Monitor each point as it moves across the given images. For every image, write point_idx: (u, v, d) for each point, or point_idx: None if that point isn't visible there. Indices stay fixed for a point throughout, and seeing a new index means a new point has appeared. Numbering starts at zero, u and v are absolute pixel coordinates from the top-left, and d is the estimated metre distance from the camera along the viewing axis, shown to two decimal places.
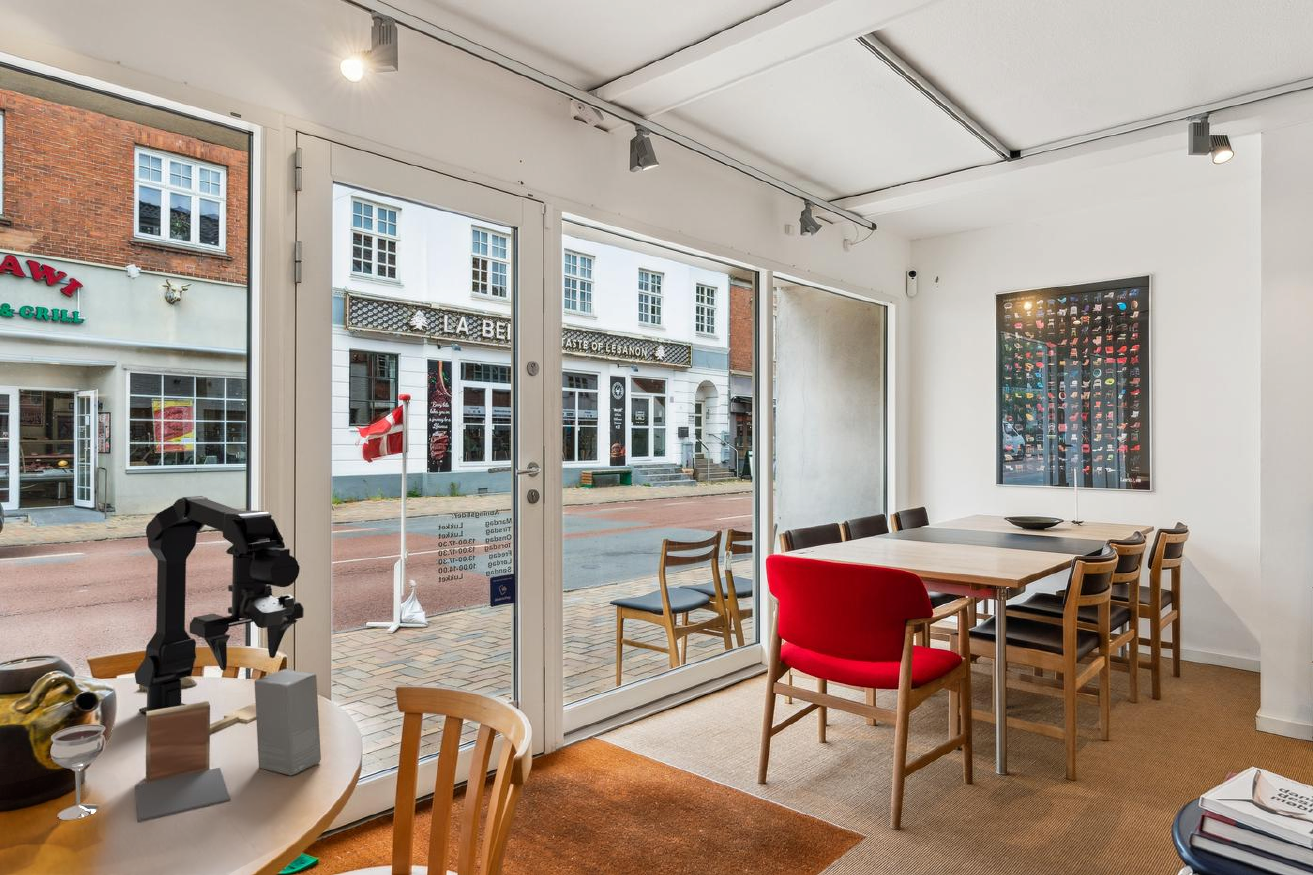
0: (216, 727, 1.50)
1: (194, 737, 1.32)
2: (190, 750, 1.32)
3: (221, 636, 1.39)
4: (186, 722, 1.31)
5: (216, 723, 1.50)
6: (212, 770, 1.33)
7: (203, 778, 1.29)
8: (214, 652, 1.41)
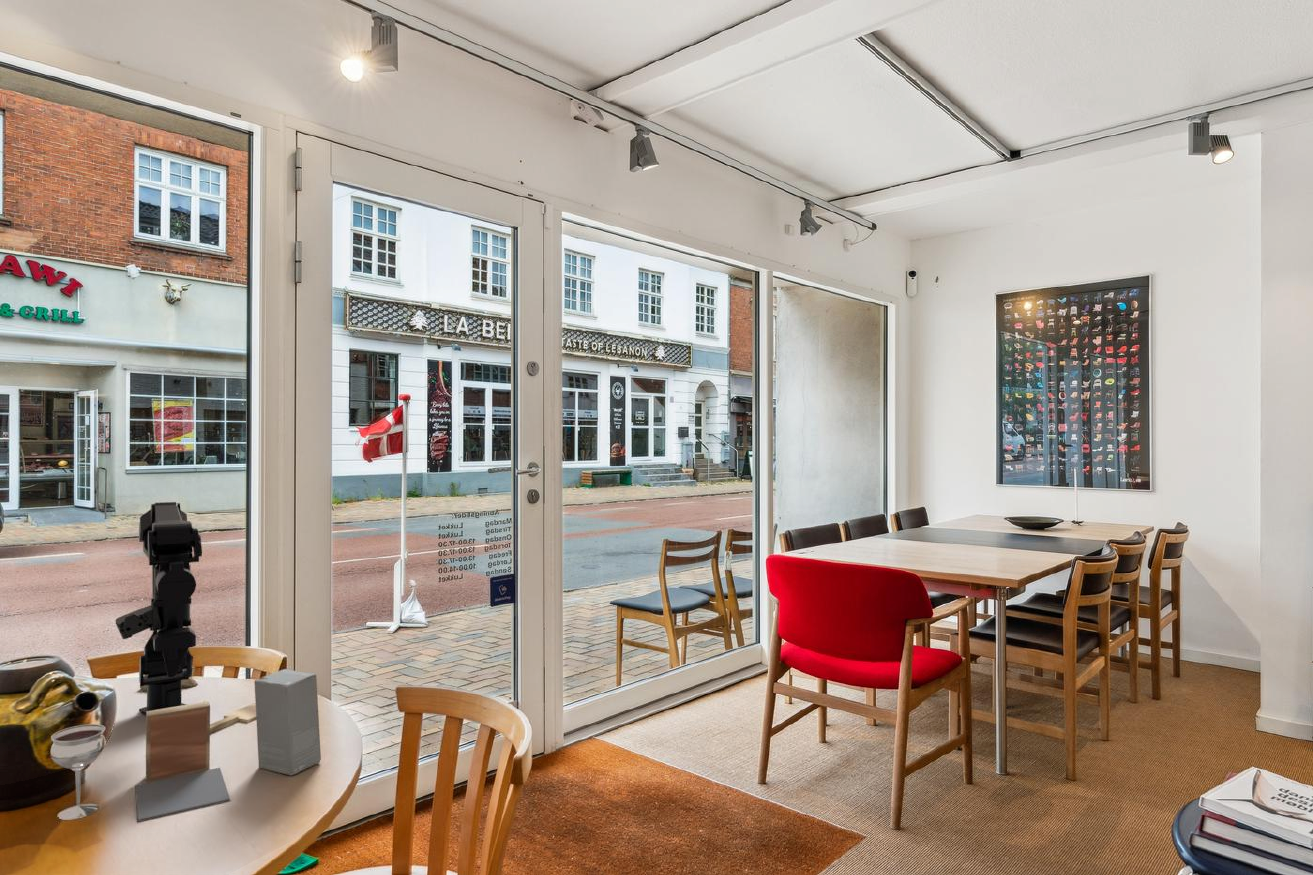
0: (216, 727, 1.50)
1: (194, 737, 1.32)
2: (190, 750, 1.32)
3: None
4: (186, 722, 1.31)
5: (216, 723, 1.50)
6: (212, 770, 1.33)
7: (203, 778, 1.29)
8: None
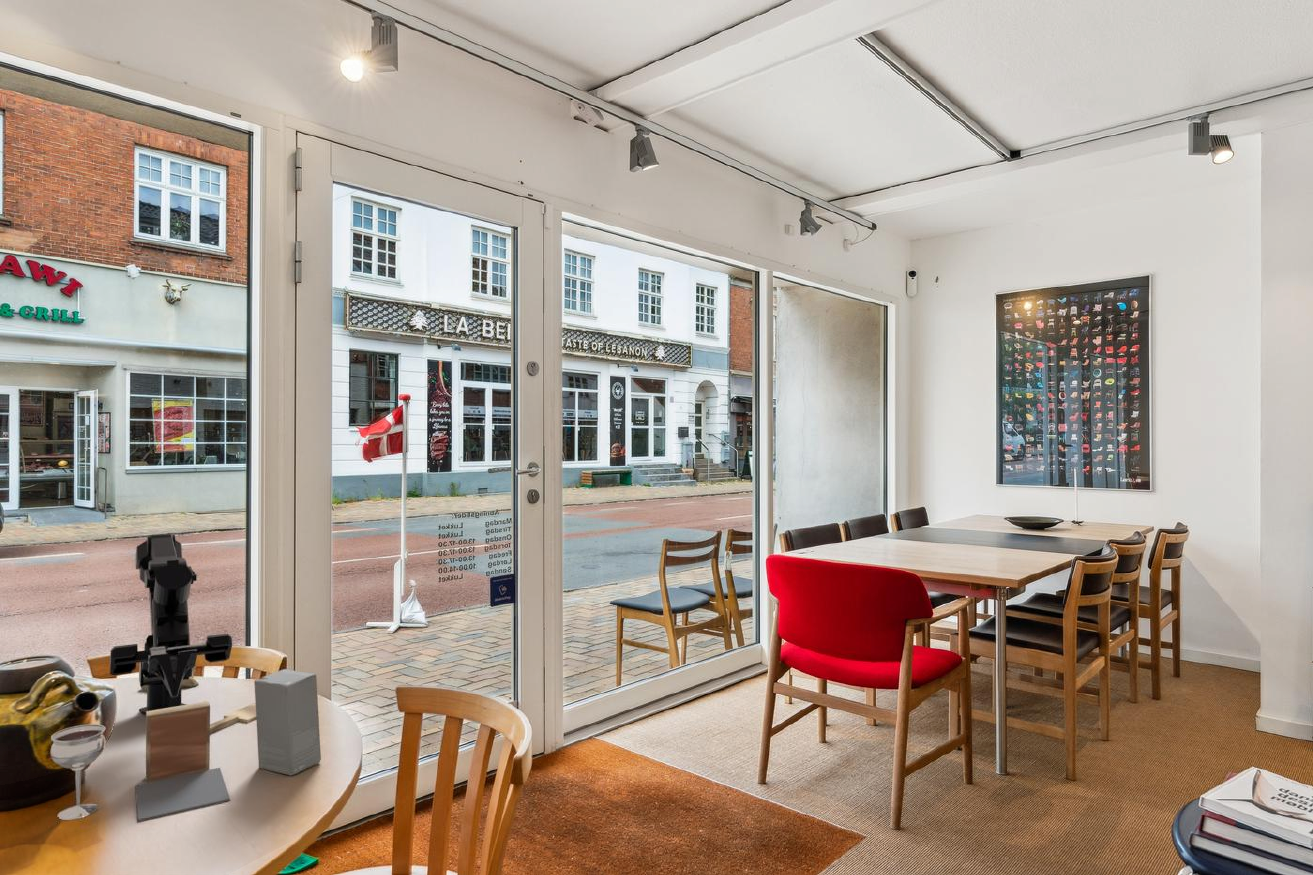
0: (216, 727, 1.50)
1: (194, 737, 1.32)
2: (190, 750, 1.32)
3: None
4: (186, 722, 1.31)
5: (216, 723, 1.50)
6: (212, 770, 1.33)
7: (203, 778, 1.29)
8: (182, 675, 1.41)
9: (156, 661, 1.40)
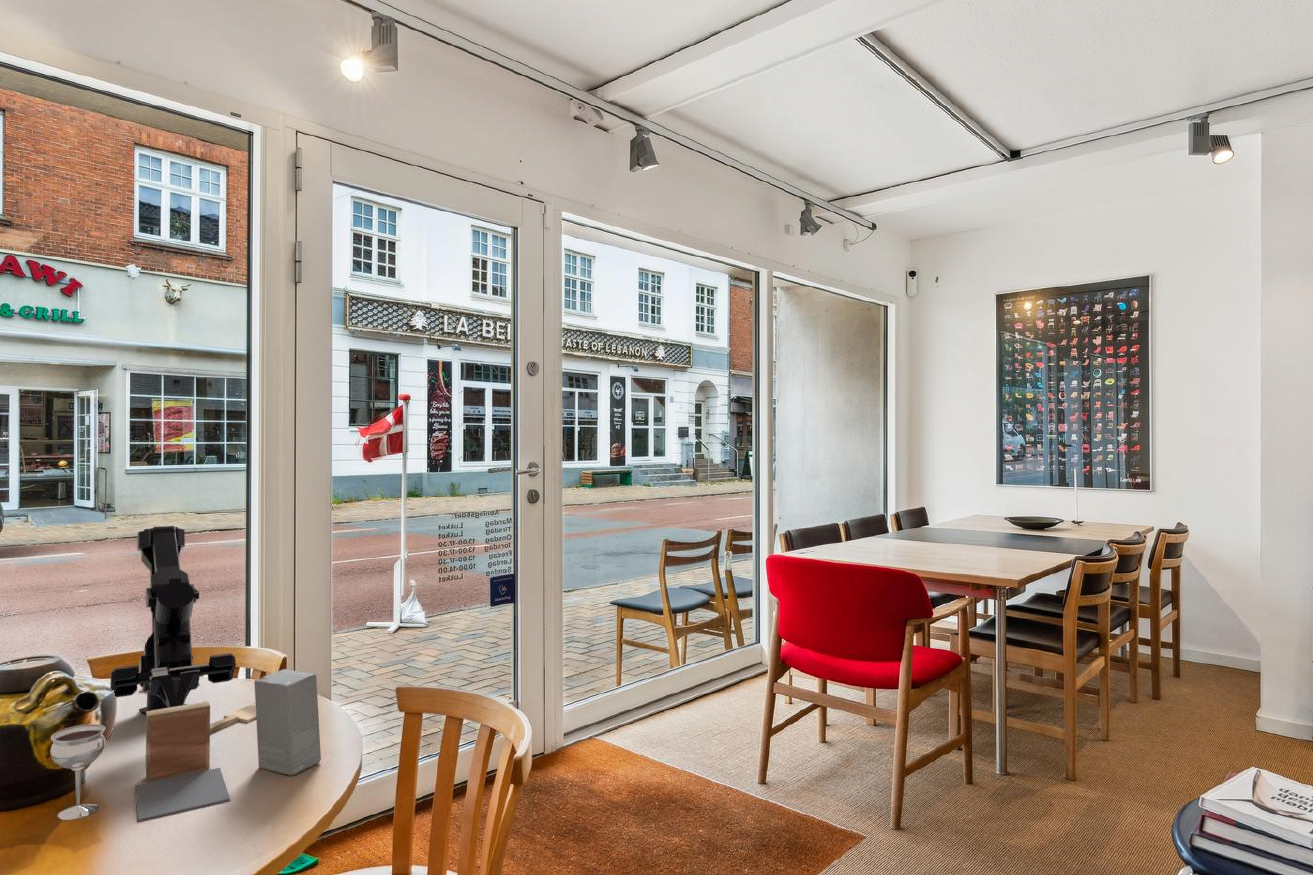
0: (216, 727, 1.50)
1: (194, 737, 1.32)
2: (190, 750, 1.32)
3: None
4: (186, 722, 1.31)
5: (216, 723, 1.50)
6: (212, 770, 1.33)
7: (203, 778, 1.29)
8: (185, 697, 1.37)
9: (158, 683, 1.36)
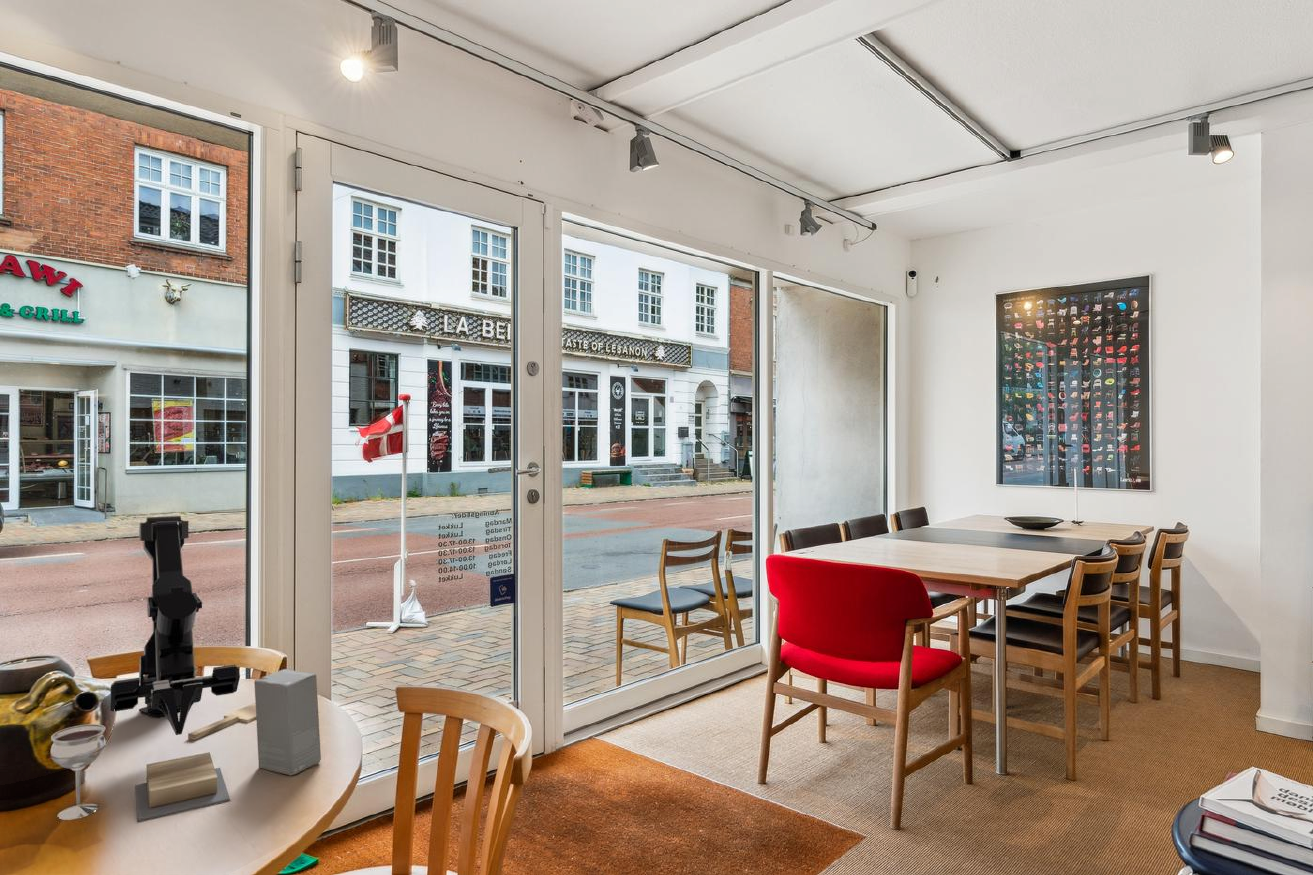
0: (216, 727, 1.50)
1: None
2: None
3: None
4: None
5: (216, 723, 1.50)
6: None
7: None
8: (187, 711, 1.32)
9: (159, 696, 1.31)
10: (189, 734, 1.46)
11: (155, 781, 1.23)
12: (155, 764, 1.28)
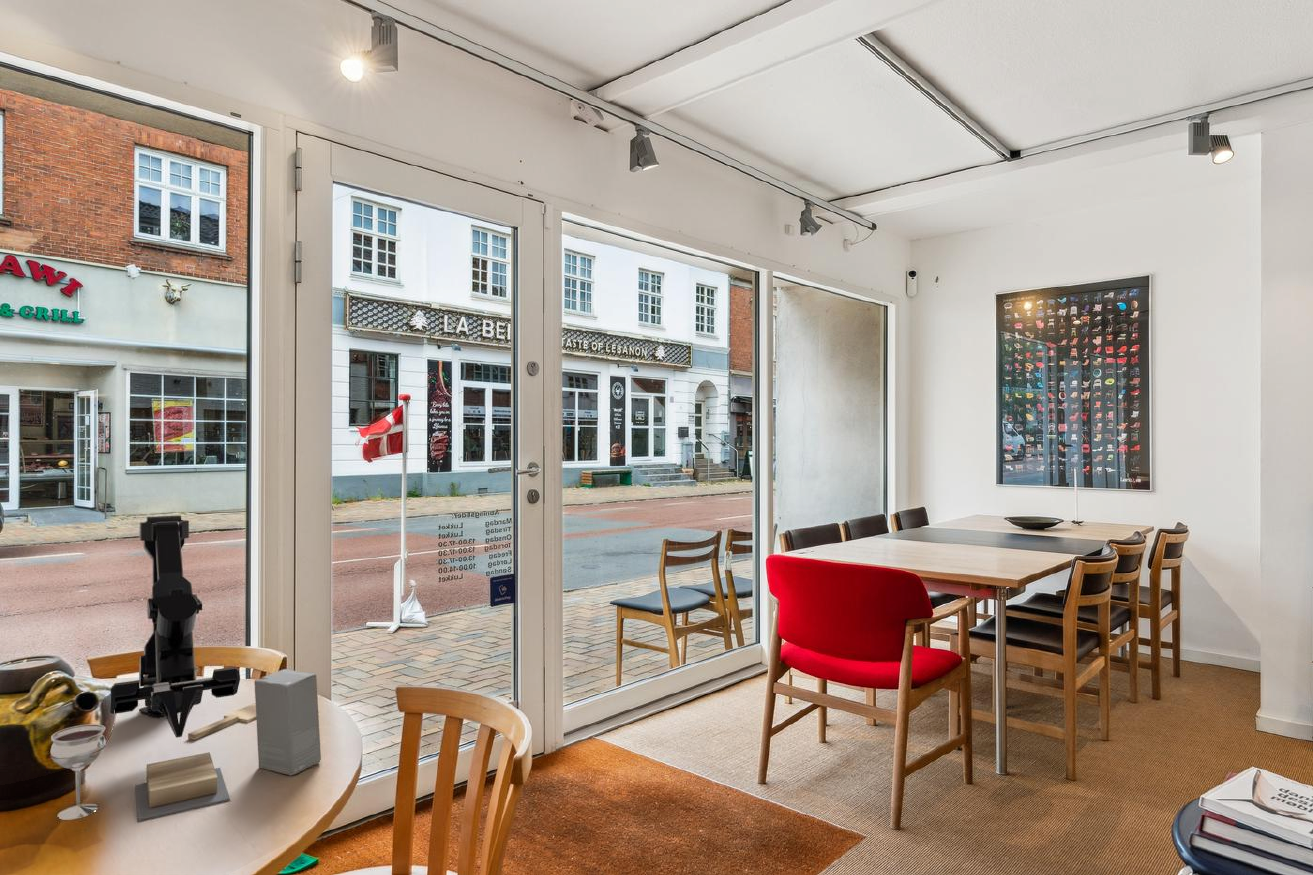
0: (216, 727, 1.50)
1: None
2: None
3: None
4: None
5: (216, 723, 1.50)
6: None
7: None
8: (188, 713, 1.32)
9: (159, 698, 1.31)
10: (189, 734, 1.46)
11: (155, 781, 1.23)
12: (155, 764, 1.28)
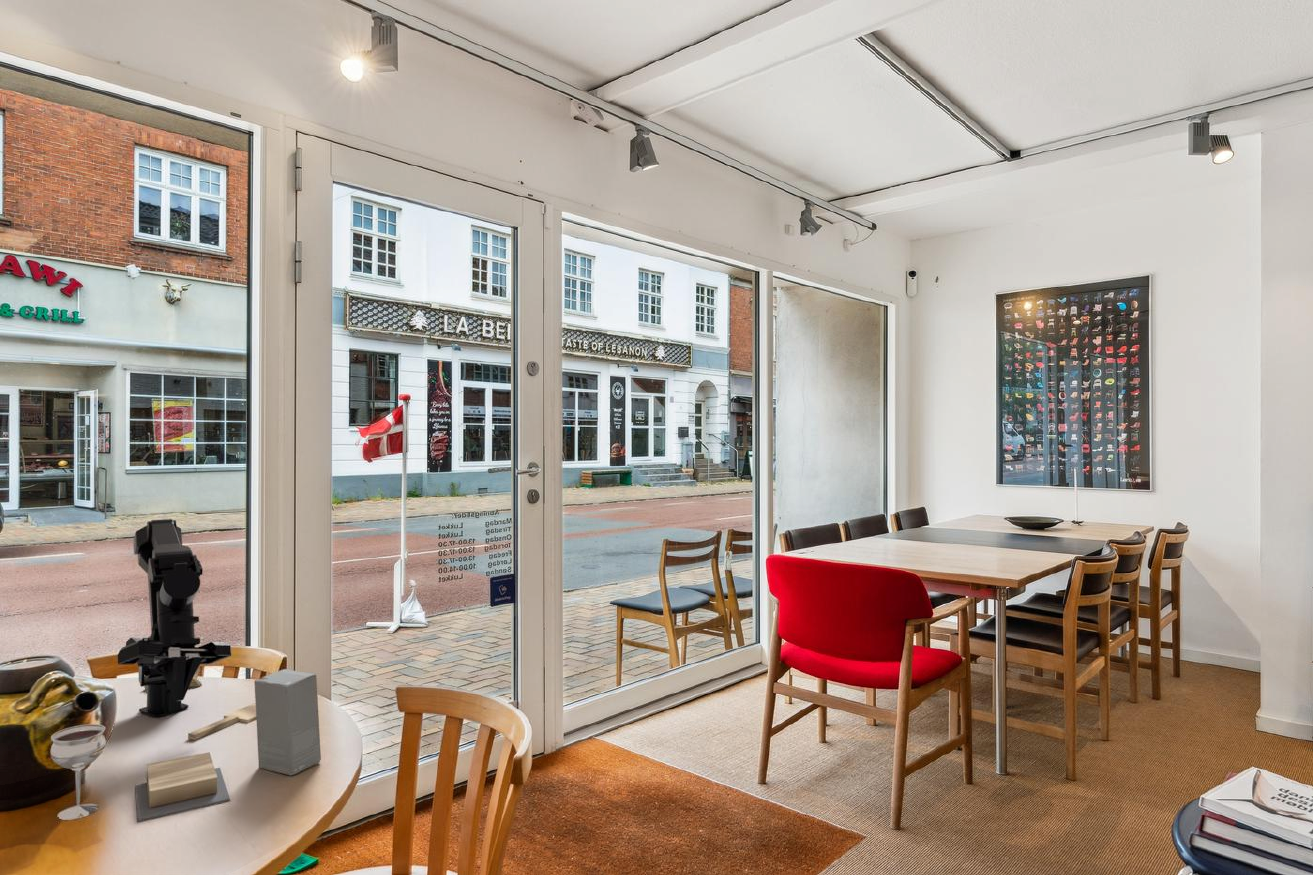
0: (216, 727, 1.50)
1: None
2: None
3: None
4: None
5: (216, 723, 1.50)
6: None
7: None
8: None
9: (171, 662, 1.40)
10: (189, 734, 1.46)
11: (155, 781, 1.23)
12: (155, 764, 1.28)
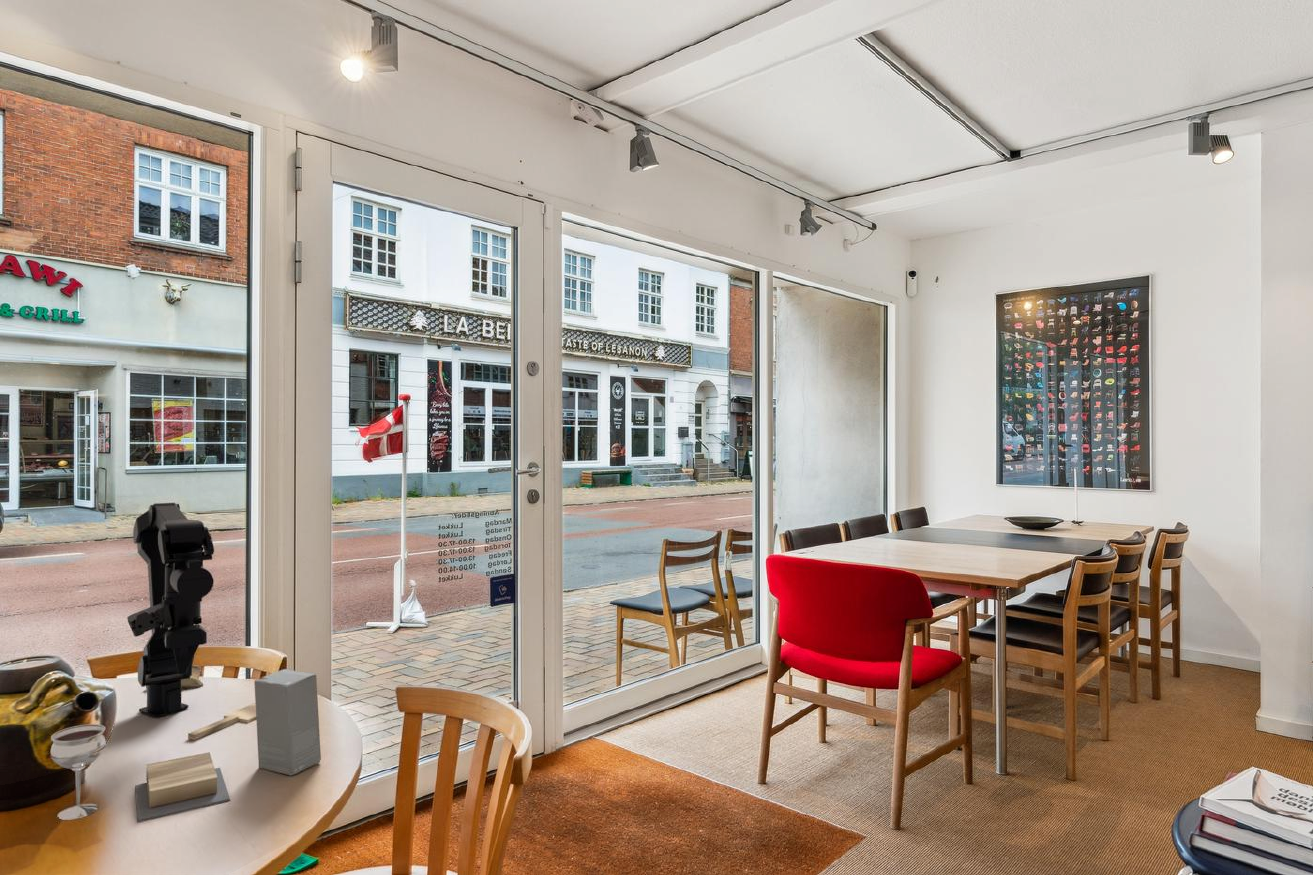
0: (216, 727, 1.50)
1: None
2: None
3: None
4: None
5: (216, 723, 1.50)
6: None
7: None
8: None
9: None
10: (189, 734, 1.46)
11: (155, 781, 1.23)
12: (155, 764, 1.28)
